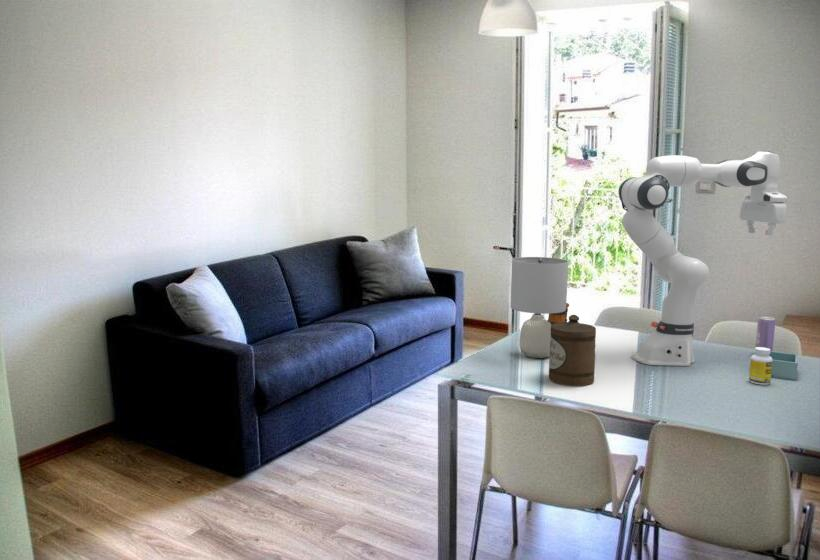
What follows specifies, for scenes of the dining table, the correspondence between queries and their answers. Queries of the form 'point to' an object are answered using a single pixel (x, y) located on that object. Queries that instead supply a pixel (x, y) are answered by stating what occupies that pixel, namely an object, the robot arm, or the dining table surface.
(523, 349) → the lamp
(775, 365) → the caddy
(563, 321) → the mug
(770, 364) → the pill bottle
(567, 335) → the wooden container
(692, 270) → the robot arm
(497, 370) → the dining table surface
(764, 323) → the beverage can
